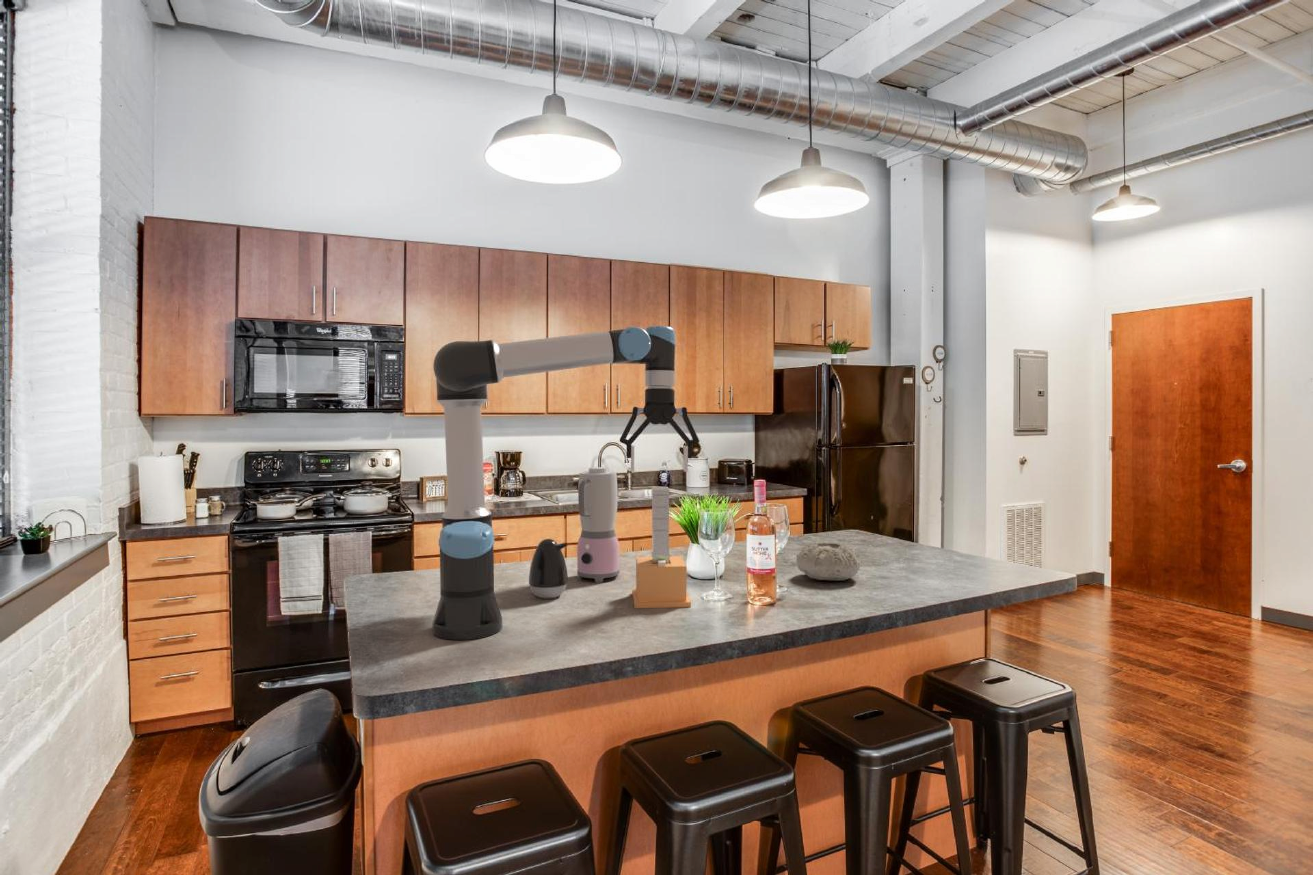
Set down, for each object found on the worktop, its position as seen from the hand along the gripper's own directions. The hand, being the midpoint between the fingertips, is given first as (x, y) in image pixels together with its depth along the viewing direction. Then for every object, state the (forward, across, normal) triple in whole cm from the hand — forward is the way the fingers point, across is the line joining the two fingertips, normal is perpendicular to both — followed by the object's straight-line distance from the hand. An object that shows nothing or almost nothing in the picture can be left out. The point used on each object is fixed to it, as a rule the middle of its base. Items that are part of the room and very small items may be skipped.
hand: (659, 471), depth 184 cm
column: (+26, -1, 0) cm, 26 cm away
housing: (+33, -1, 0) cm, 33 cm away
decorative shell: (+33, -51, -19) cm, 63 cm away
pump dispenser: (+34, +28, -6) cm, 45 cm away
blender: (+34, +16, -24) cm, 44 cm away
